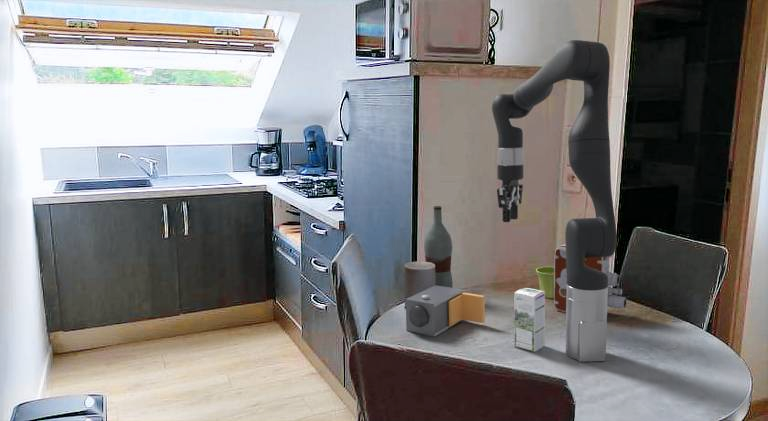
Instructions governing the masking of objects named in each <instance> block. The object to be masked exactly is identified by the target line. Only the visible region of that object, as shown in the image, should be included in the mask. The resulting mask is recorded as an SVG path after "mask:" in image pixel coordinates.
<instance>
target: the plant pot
mask: <svg viewBox="0 0 768 421" xmlns="http://www.w3.org/2000/svg"><path fill="white" fill-rule="evenodd" d="M535 272H536V274H537V276H538V283H539V290H541V291H545V298H547V299H554V266H541V267H536V269H535Z"/></svg>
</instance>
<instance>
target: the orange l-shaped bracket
mask: <svg viewBox="0 0 768 421" xmlns="http://www.w3.org/2000/svg"><path fill="white" fill-rule="evenodd" d="M485 299H486V297H485V295H482V294H475V293H470V292H469V293H468V292H462V294H461V295H459V296H458V297H456V298H454V299H452V300H450V301H449V326H451V327H453V326H454V324H455V323H456V324H457V322H458V321H459V322H461V321H463V320H464V321H469V322H473V323H479V324H484V323H485V321H486V307H485V306H486V305H485V304H486V303H485V302H486V300H485ZM462 319H463V320H462ZM460 320H461V321H460ZM459 322H458V323H459ZM456 324H455V325H456ZM452 325H453V326H452Z"/></svg>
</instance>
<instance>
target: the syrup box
mask: <svg viewBox="0 0 768 421" xmlns="http://www.w3.org/2000/svg"><path fill="white" fill-rule="evenodd" d="M513 297H514V300H513V303H514V316H513V317H514V322H513V323H514V324H513V325H514V328H513V329H514V340H513V341H514V347H515V348H518V349H522V350H526V351H528V352H533V353H535V352H537V351H539V350H540V349H542V348H543V347H545V345H546V344H545V342H546V341H545V340H546V339H545V337H546V336H545V333H546V332H545V326H546V325H545V324H546V323H545V320H546V319H545V313H546V309H545V308H546V297H545V291H541V290H540V289H535V288H530V287H522V288H520V289H518V290H516V291H515V292H514V295H513Z"/></svg>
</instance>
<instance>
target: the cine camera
mask: <svg viewBox="0 0 768 421" xmlns="http://www.w3.org/2000/svg"><path fill="white" fill-rule="evenodd" d="M554 251H555V252H554V260H553V261H554V264H553V265H554V266H553V267H554V298H553V302H554V309H556V311H558V312H563V313H566V296H567V273H566V243H564V244H562V245H560V244H559V245H558V246H557V248H556V249H555V250H554ZM610 258H613V255H612V256H610V257H587V258H584V264H585V265H586V266H588V267H590V268H593V269H596V270H599V271H602V272H604V273H605V274H606V275H607V277H608V298H607V309H608V307H609V308H613V309H626V308H627V302H628V301H627V298H626V297H625V296H622V294H623V288H615V287H616V286H619V285H620V281H621V280H620V277H621V276H620V275H619V274H618V273H616V272H610Z"/></svg>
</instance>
